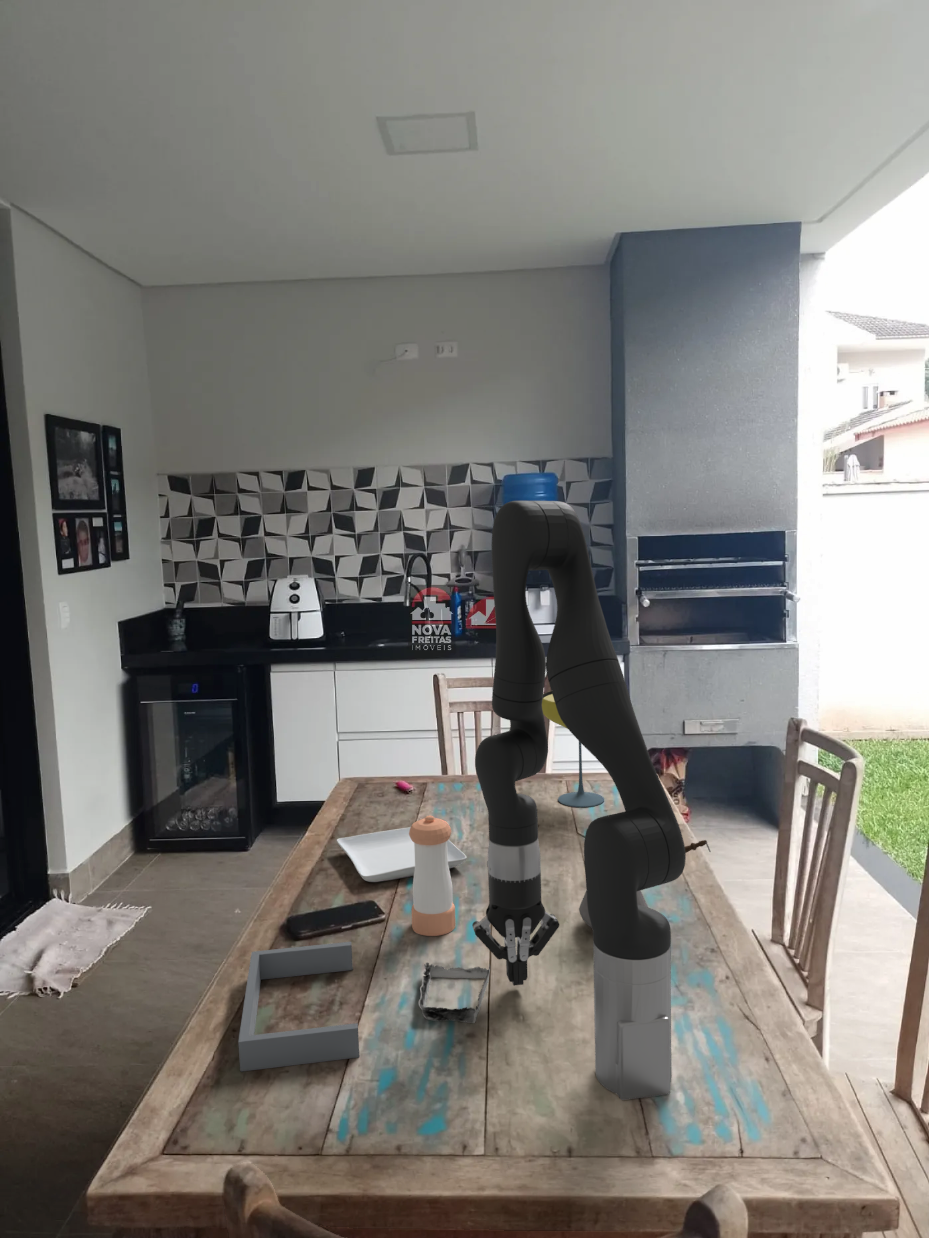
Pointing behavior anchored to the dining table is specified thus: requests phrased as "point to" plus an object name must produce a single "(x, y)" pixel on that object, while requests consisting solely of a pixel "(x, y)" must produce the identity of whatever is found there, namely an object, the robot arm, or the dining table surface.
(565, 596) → the robot arm
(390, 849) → the salad plate
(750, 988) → the dining table surface
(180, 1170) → the dining table surface
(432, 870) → the pepper shaker
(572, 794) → the cocktail glass
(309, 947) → the bin
